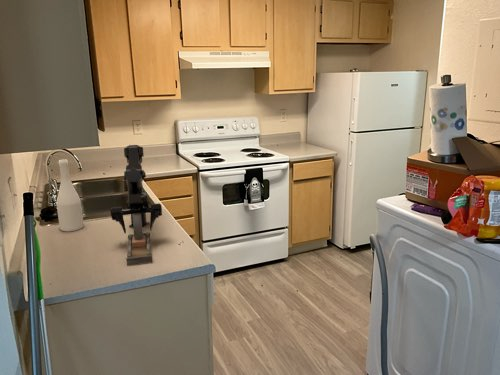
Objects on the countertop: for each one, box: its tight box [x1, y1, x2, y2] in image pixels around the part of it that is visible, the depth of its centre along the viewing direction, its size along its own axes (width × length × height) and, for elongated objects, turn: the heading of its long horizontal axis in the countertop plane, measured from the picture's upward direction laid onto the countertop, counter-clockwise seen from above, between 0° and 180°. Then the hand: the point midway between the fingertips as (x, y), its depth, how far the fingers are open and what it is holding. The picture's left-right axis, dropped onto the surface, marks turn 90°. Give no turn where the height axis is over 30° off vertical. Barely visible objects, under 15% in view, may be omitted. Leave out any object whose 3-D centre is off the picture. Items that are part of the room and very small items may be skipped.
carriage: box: [132, 213, 146, 248], centre depth 154 cm, size 7×5×12 cm
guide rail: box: [125, 232, 153, 266], centre depth 151 cm, size 23×8×3 cm, turn 15°
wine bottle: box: [56, 158, 85, 232], centre depth 172 cm, size 10×10×30 cm
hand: (138, 231), depth 152 cm, fingers open, 9 cm apart
